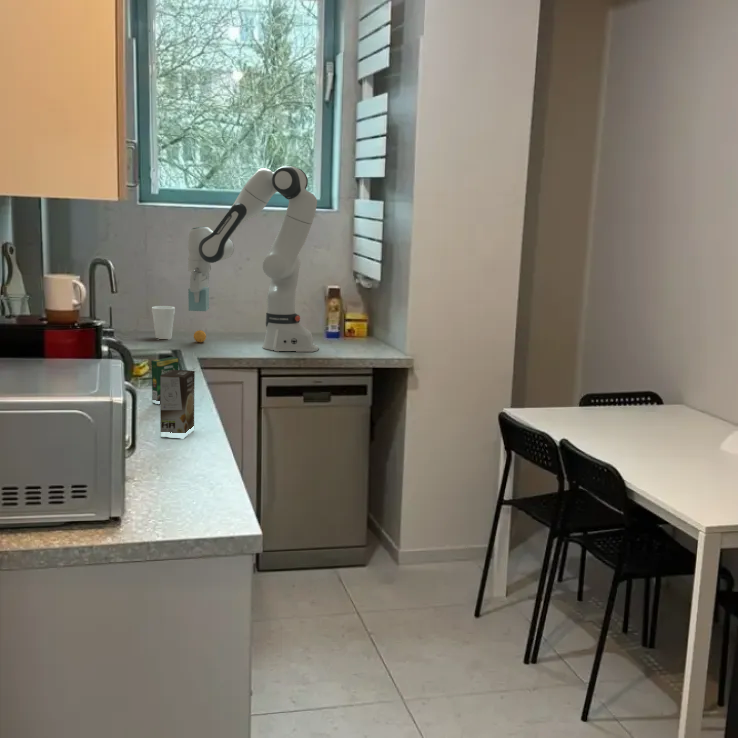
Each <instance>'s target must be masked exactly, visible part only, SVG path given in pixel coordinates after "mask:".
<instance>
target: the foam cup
mask: <svg viewBox="0 0 738 738" xmlns="http://www.w3.org/2000/svg"><path fill="white" fill-rule="evenodd" d="M151 314H152V321H153V327H154V334H155V339H156V338H159V339H168V340H171V339H172V336H173V329H174V322H175V321H174V320H175V314H176V307H175V306H169V305H155V306H152V307H151ZM159 339H158V340H159Z"/></svg>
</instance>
